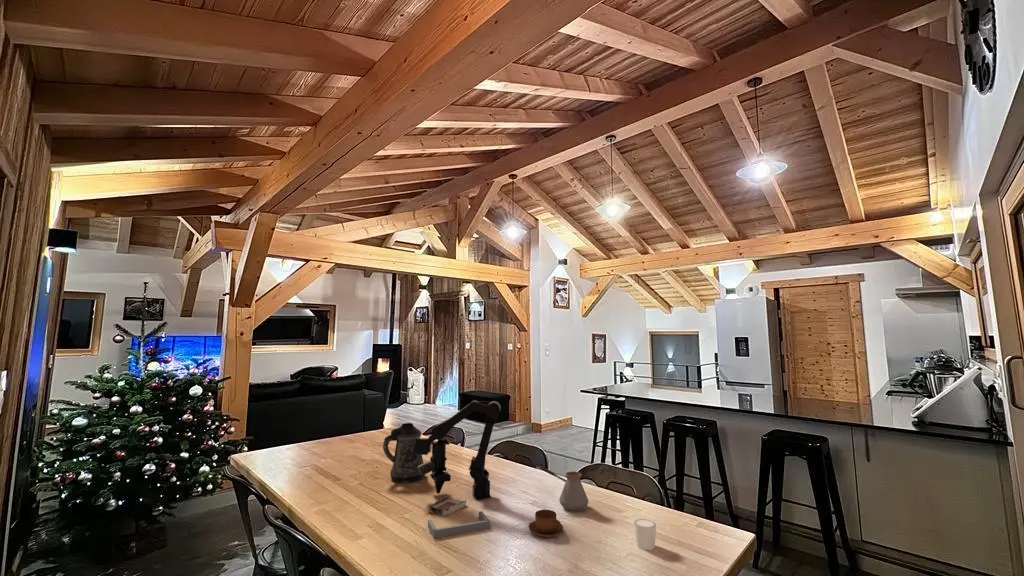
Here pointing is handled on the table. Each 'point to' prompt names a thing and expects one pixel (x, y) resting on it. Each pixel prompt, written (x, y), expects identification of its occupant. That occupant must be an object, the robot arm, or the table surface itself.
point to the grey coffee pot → (571, 491)
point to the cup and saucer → (545, 524)
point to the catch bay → (459, 527)
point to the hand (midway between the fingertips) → (437, 493)
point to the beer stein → (404, 454)
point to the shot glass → (645, 534)
